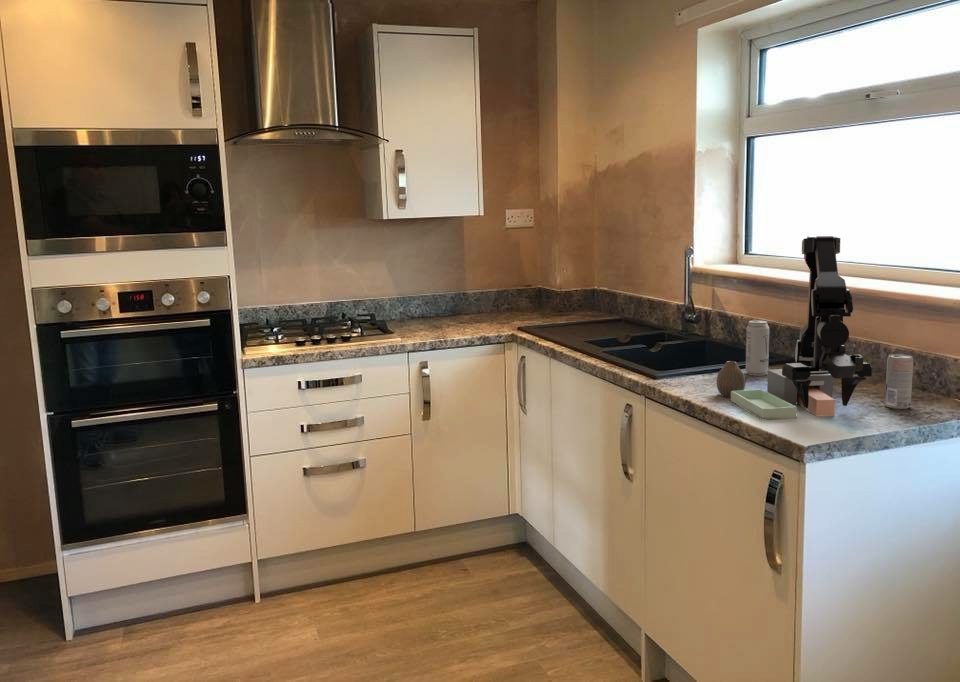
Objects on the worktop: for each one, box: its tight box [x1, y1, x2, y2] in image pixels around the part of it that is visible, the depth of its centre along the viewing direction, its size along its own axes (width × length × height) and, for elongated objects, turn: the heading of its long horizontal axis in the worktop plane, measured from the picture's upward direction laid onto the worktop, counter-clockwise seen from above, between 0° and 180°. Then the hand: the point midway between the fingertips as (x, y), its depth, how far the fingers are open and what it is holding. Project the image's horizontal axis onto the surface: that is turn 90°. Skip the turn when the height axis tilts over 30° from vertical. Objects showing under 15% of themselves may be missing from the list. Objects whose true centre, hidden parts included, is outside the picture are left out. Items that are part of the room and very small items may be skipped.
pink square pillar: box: [797, 386, 836, 417], centre depth 188 cm, size 14×4×4 cm, turn 178°
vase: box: [716, 360, 746, 398], centre depth 202 cm, size 7×7×9 cm
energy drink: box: [884, 353, 914, 410], centre depth 187 cm, size 5×5×12 cm
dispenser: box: [766, 368, 834, 407], centre depth 195 cm, size 10×12×7 cm
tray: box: [730, 388, 798, 420], centre depth 189 cm, size 18×8×2 cm, turn 5°
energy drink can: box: [745, 319, 770, 377], centre depth 226 cm, size 6×6×15 cm
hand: (825, 406), depth 184 cm, fingers open, 9 cm apart
